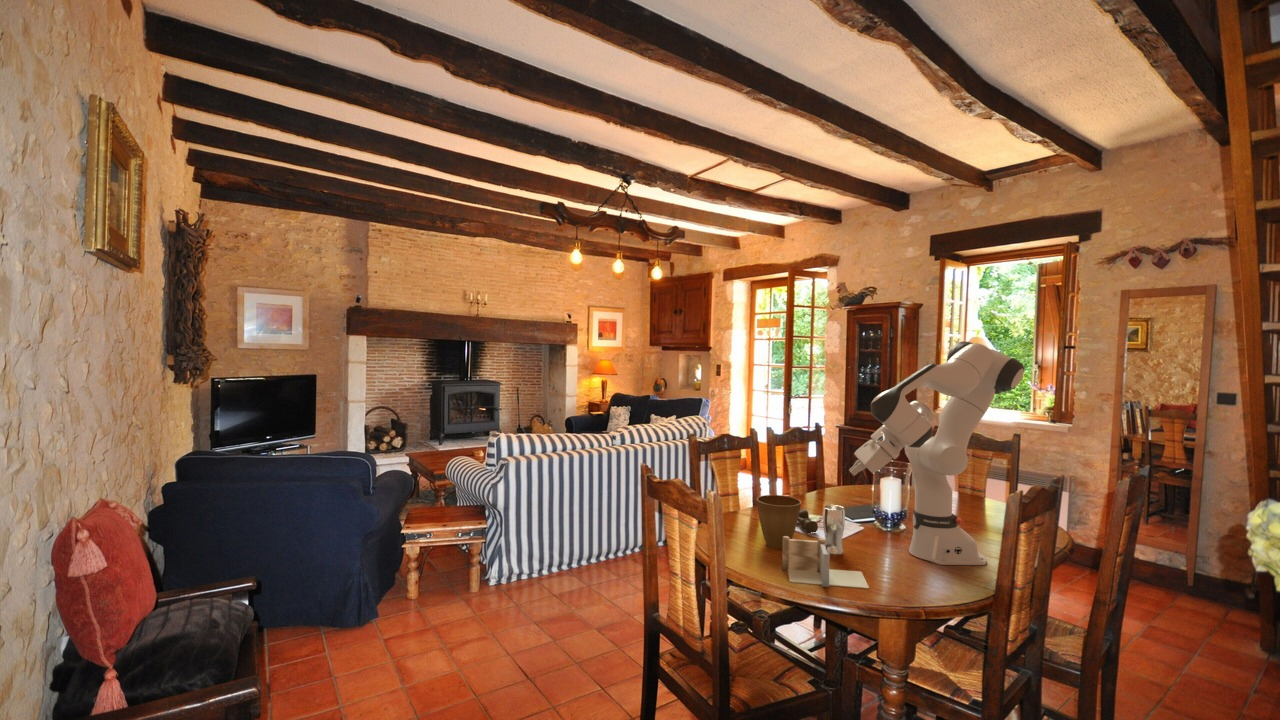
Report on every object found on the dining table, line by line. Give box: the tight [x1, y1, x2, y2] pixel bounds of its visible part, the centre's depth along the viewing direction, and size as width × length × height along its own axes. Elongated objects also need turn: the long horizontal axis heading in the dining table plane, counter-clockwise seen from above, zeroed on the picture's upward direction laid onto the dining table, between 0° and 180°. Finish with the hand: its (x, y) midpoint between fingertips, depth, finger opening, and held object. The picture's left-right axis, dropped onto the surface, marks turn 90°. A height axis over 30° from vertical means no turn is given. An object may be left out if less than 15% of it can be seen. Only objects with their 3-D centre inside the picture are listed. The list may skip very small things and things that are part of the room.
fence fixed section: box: [781, 536, 826, 572], centre depth 180 cm, size 13×2×10 cm, turn 79°
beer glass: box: [822, 504, 846, 556], centre depth 196 cm, size 7×7×15 cm
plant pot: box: [756, 494, 802, 550], centre depth 202 cm, size 15×15×16 cm
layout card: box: [787, 568, 870, 590], centre depth 175 cm, size 22×12×1 cm, turn 79°
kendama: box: [797, 508, 819, 534], centre depth 224 cm, size 6×10×20 cm
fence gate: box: [820, 544, 831, 588], centre depth 172 cm, size 11×2×9 cm, turn 168°
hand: (851, 473), depth 183 cm, fingers closed
